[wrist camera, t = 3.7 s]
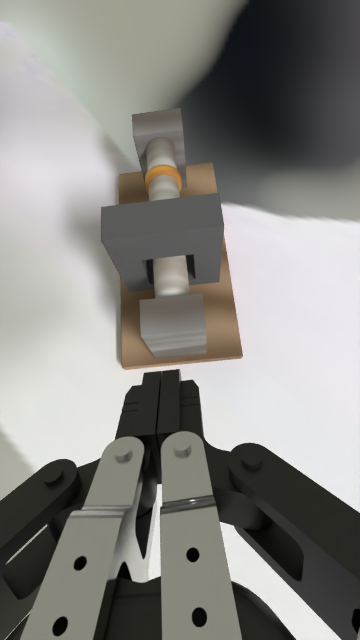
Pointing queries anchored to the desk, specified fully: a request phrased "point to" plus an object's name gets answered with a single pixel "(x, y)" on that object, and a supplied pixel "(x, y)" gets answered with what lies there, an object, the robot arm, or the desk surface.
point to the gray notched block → (164, 238)
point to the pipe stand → (173, 263)
